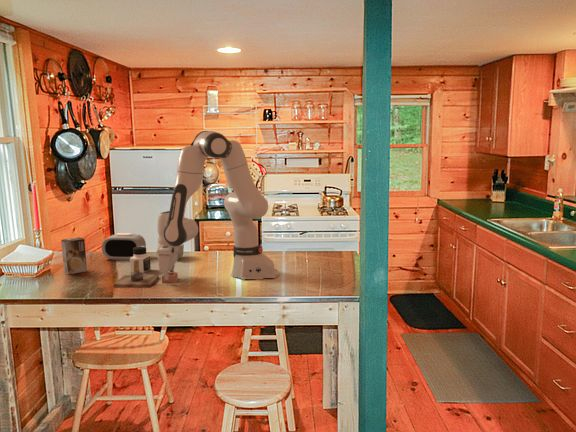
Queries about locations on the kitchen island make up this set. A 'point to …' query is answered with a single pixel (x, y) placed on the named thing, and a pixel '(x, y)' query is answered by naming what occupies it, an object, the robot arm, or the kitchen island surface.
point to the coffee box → (74, 255)
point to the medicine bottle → (140, 259)
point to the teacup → (180, 251)
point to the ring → (170, 277)
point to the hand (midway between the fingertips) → (169, 276)
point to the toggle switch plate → (136, 278)
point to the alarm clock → (121, 245)
